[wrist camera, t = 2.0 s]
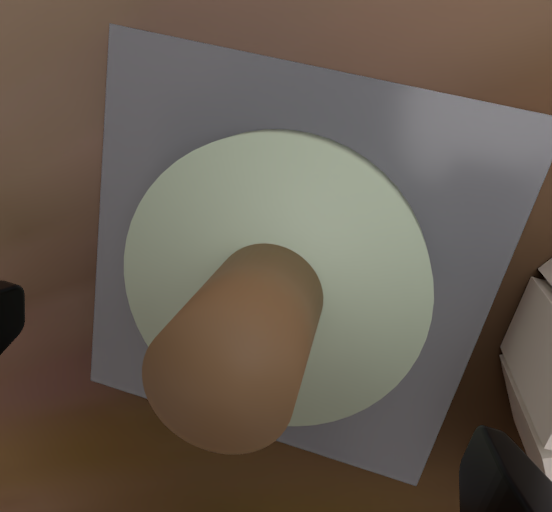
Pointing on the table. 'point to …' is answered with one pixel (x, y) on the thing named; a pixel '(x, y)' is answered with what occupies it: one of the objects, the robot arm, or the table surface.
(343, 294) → the lid
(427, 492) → the table surface
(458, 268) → the coaster
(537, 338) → the bowl
